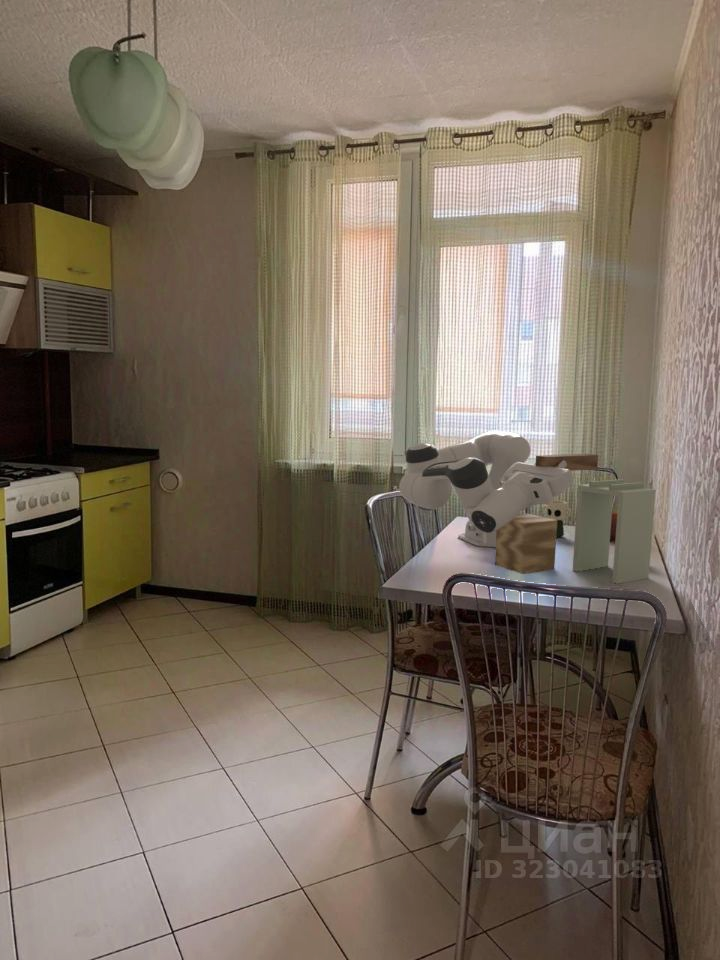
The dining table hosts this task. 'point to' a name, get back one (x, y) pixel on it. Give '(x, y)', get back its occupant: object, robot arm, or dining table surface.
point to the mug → (613, 525)
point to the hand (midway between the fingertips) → (556, 461)
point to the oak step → (527, 544)
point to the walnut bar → (569, 461)
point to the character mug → (557, 514)
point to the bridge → (629, 529)
